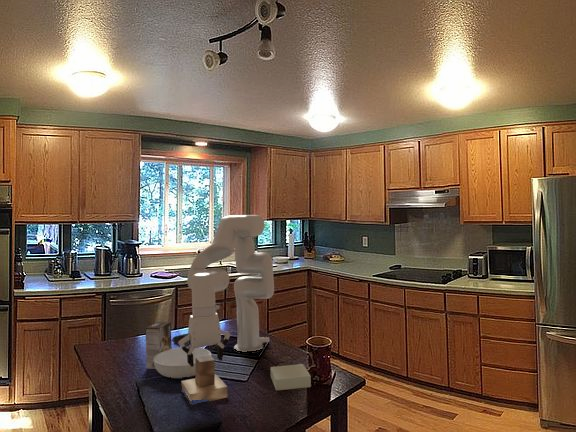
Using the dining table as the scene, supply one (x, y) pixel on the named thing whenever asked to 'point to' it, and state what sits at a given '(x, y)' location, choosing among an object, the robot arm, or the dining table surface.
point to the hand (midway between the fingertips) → (205, 362)
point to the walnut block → (205, 371)
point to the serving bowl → (177, 362)
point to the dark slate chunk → (179, 337)
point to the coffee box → (157, 341)
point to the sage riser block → (290, 377)
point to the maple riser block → (205, 390)
